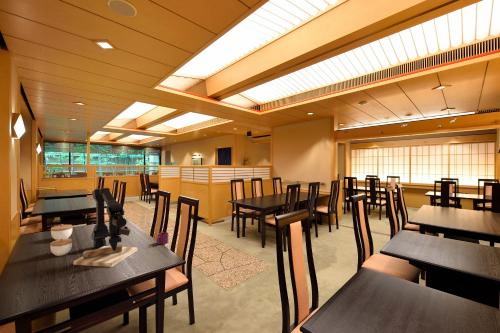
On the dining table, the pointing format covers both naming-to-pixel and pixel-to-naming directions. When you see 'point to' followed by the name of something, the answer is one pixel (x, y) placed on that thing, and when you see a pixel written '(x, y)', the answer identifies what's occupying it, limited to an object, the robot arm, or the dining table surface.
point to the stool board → (106, 258)
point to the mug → (162, 238)
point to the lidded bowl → (61, 231)
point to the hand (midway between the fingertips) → (114, 250)
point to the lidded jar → (61, 246)
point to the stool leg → (101, 251)
